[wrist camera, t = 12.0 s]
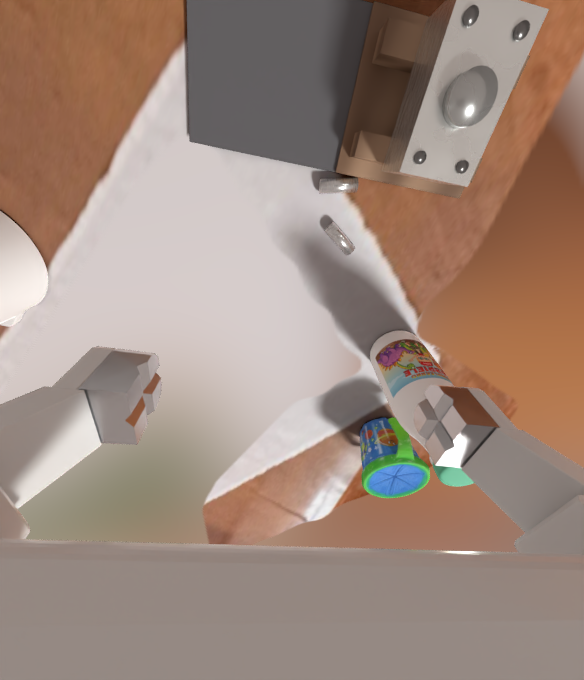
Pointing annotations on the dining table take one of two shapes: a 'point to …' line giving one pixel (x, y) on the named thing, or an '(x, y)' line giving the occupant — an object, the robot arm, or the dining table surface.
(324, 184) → the pin
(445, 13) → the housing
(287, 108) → the bench mat
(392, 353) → the milk bottle
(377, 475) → the snack cup
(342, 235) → the pin
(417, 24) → the stand
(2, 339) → the dining table surface
